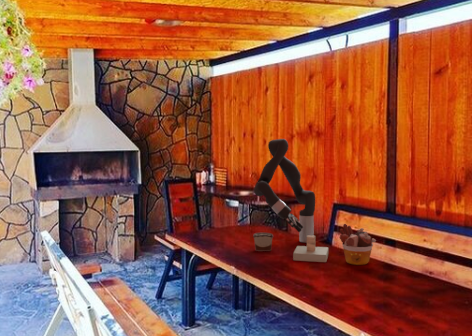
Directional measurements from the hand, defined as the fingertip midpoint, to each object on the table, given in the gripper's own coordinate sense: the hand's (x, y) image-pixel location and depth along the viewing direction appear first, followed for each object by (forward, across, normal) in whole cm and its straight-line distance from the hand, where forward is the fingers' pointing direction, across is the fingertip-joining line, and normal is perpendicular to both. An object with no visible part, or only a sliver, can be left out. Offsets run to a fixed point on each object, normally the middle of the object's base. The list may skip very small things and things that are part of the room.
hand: (301, 229), depth 272 cm
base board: (+15, 0, +7) cm, 17 cm away
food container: (-6, +12, +28) cm, 31 cm away
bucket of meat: (+33, -6, -10) cm, 35 cm away
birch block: (+12, 0, +4) cm, 13 cm away
